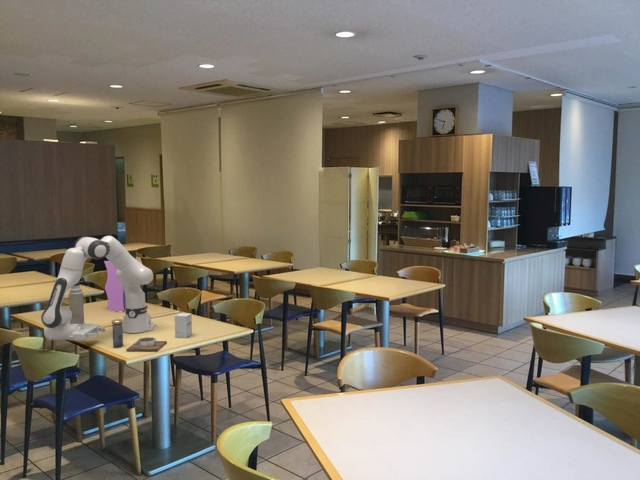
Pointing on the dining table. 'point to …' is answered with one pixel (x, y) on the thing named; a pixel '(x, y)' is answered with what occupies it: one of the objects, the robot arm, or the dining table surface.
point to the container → (114, 289)
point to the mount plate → (146, 349)
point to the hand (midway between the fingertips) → (101, 332)
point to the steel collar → (146, 342)
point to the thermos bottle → (76, 304)
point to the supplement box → (183, 325)
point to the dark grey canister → (117, 333)
